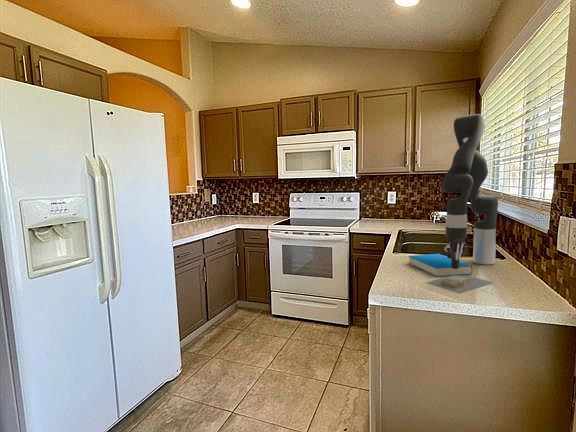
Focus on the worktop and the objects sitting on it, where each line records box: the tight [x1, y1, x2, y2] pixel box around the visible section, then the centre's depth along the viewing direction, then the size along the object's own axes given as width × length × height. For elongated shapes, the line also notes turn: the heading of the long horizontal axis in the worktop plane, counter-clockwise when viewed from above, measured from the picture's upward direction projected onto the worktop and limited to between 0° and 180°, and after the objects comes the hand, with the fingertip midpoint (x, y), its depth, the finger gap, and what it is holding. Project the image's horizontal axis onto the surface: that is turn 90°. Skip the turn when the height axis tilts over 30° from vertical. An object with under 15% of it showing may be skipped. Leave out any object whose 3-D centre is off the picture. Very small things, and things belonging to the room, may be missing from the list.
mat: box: [425, 274, 495, 295], centre depth 133 cm, size 22×15×1 cm
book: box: [408, 253, 473, 278], centre depth 154 cm, size 17×4×25 cm
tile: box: [440, 275, 470, 288], centre depth 131 cm, size 2×6×9 cm
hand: (455, 268), depth 130 cm, fingers closed
